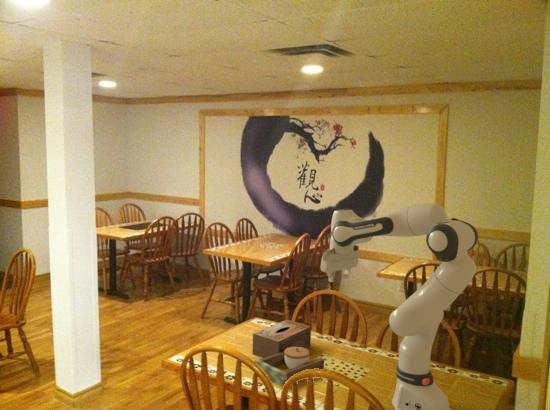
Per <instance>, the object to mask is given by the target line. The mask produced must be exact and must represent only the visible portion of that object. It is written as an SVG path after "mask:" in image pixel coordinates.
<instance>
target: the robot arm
mask: <svg viewBox="0 0 550 410" xmlns="http://www.w3.org/2000/svg"><path fill="white" fill-rule="evenodd" d="M330 225H331V226H330V231H331V236H330V239H329V248H328V249H325V251H324V252H323V253H322V256H321V261H320V271H321V272H323V273H326V275H327V277H328V278H327V279H328V280H327V281H328V282H329V283H333V282H335V277H333V274H334V272H338V271H343V270H345V271H344V273H342V278H343V279H345V280H346V279H349V275H350V273H351V271H352V268H356V267H357V266H358V265H359V252H358V251H359V250H360V246H359V244H365V243H369V242H370V241H371V240H372V238H373V237H398V238H400V237H403V238H404V237H406V238H408V237H411V238H412V237H419V236H424V235H426V237H425V242H426V245H427V248H428V250H430V252H431V253H432V254H433V255H434V256H435V258H436V259H437V260H438V261H440V264H439V265H438V267H437V268H436V269H435V270H434V271H433V273H432V274H430V276H429V278H428V279H426V281H425V282H424V283H423V284H422V285H421V287H419V288H418V289H416V291H415V292H414V293H412V294H411V295H410V296H409V297H407V299H406V300H404V302H402V304H400V305H399V306H398V307H397V308H396V309H394V310H393V311H391V313H390V315H389V317H388V321H389V327H390V329H391V331H392V332H393V333H394V334H395V335H397V336H399V337H403V340H402V341H401V342H400V344H399V349H398V365H397V366H396V385H395V389H394V394H393V395H392V396H393V397H392V399H391V404H392V407H394V410H453V409H452V408H450V403H449V398H448V397H447V395H446V394H445V393H444V392H443V391H442V390H441V389H440V387H439V386H438V385H437V384H436V383H435V382H434V381H435V380H434V379H436V378H437V377H436V376H437V374H432V371H431V368H430V367H431V354H432V348H433V344H434V341H435V337H436V335H437V331H438V329H439V326H440V324H441V322H442V321H443V319H444V314H445V312H444V311H445V310H447V309H448V308H449V307H450V306H451V305H452V304H453V302H455V301H456V299H457V298H458V297H459V296H460V295H461V294H462V292H464V290H465V289H466V288H467V287H468V285H469V284H470V283H471V281H472V279H473V278H474V276H475V274H476V272H477V265H476V262H475V261H474V260H473V258H472V257H470V256H469V253H468V251H471V250H472V249H473V248H474V247H475V246H476V245H477V243H478V240H479V233H478V230H477V228H476V227H475V226H474V225H472V224H471V223H469V222H466V221H463V220H461V219H458V218H455V217H453V218H452V217H451V218H449V217H448V216H447V212H446V210H445V209H444V207H443V206H441V205H440V204H438V203H420V204H415V205H410V206H406V207H403V208H400V209H396V210H395V211H392V212H389V213H388V214H385V215H382V216H379V217H377V218H374V219H368V220H367V219H364V218H362V217H360V216H359V215H357V213H355V212H354V210H353V209H351V208H341V209H340V208H339V209H336V210H334V211H333V214H332V217H331V224H330Z"/></svg>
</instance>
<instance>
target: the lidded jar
mask: <svg viewBox="0 0 550 410" xmlns="http://www.w3.org/2000/svg"><path fill="white" fill-rule="evenodd" d="M284 354H285V355H284V358H285V363H286V364H285V365H286V367H287V368H288V370H289V369H292V368H295V367H297V366H300V365H302V364H305V363H308V362H310V355H311V354H310V351H309V349H308V348H303V347H289V348H286V349H285V351H284Z"/></svg>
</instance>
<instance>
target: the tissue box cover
mask: <svg viewBox="0 0 550 410" xmlns="http://www.w3.org/2000/svg"><path fill="white" fill-rule="evenodd" d="M311 336H312V326H310V325H308V324H304V323H300V322H297V321H293V320H290V319H285V320H282V321H280V322H277V323H276V324H273V325H270V326H268V327H266V328H262V329H261V330H258V331H256V332H254V333H252V355H254V356H256V357H260V358H261V359H262V358H265V357H268V356H270V355H273V354H276V353H279V352H282V351H285V349H286V348H289V347H303V348H306V349H308V348H310V347H311V341H312V340H311V338H312V337H311Z"/></svg>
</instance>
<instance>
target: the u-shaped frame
mask: <svg viewBox="0 0 550 410" xmlns="http://www.w3.org/2000/svg"><path fill="white" fill-rule="evenodd" d="M284 355H285V354H284V351H282V352H279V353H276V354H273V355H270V356H268V357H265V358H262V357H261V358H258V359H256V360H255V361H254V364H255V363H257V364H258V365H259V366H260V367H261V368H262V369H263V370H264V372H265V373H266V374H267V375H268V377H269V378H270V380H271V382H272V383H275V384H276V385H278V386H280V387H282V388H283V385H284V384H285V382H286V381H287V380H288V379H289V378H290V377H291V376H293V375H294V374H296V373H298V372H301V371H303V370H306V369H314V368H319V369H323V368H324V369H325V358H323V357H318V358H317V359H313V360H311V361H310V360H309V361H308V363H305V364H302V365H300V366H297V367H295V368H292V369H289V368H288V369H287V370H284V371H283V370H281V369H278V367H280V366H283V365H286V363H285V358H284ZM270 380H269V381H270Z"/></svg>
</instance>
